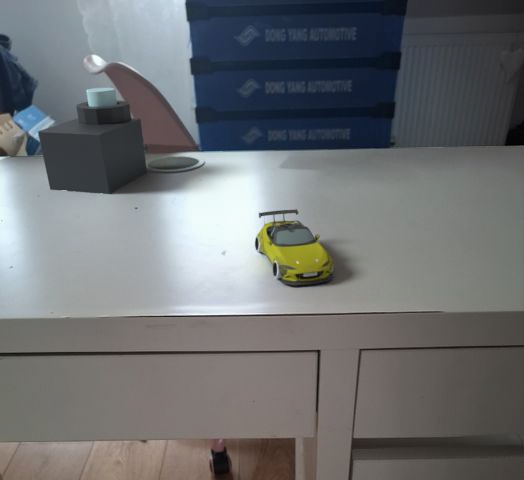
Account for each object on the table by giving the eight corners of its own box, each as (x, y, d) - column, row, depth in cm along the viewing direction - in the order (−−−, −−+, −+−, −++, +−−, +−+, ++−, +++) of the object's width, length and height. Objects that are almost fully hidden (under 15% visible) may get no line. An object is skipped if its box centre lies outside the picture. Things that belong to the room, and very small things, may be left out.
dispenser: (109, 194, 65) (97, 116, 60) (50, 189, 67) (33, 114, 62) (151, 170, 74) (144, 101, 70) (98, 166, 76) (87, 99, 71)
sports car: (279, 289, 43) (280, 252, 41) (250, 243, 51) (249, 211, 50) (341, 282, 44) (343, 246, 42) (303, 238, 52) (304, 206, 51)
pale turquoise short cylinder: (109, 110, 66) (106, 91, 65) (83, 109, 67) (80, 90, 66) (122, 105, 69) (120, 87, 68) (98, 105, 70) (95, 87, 69)
